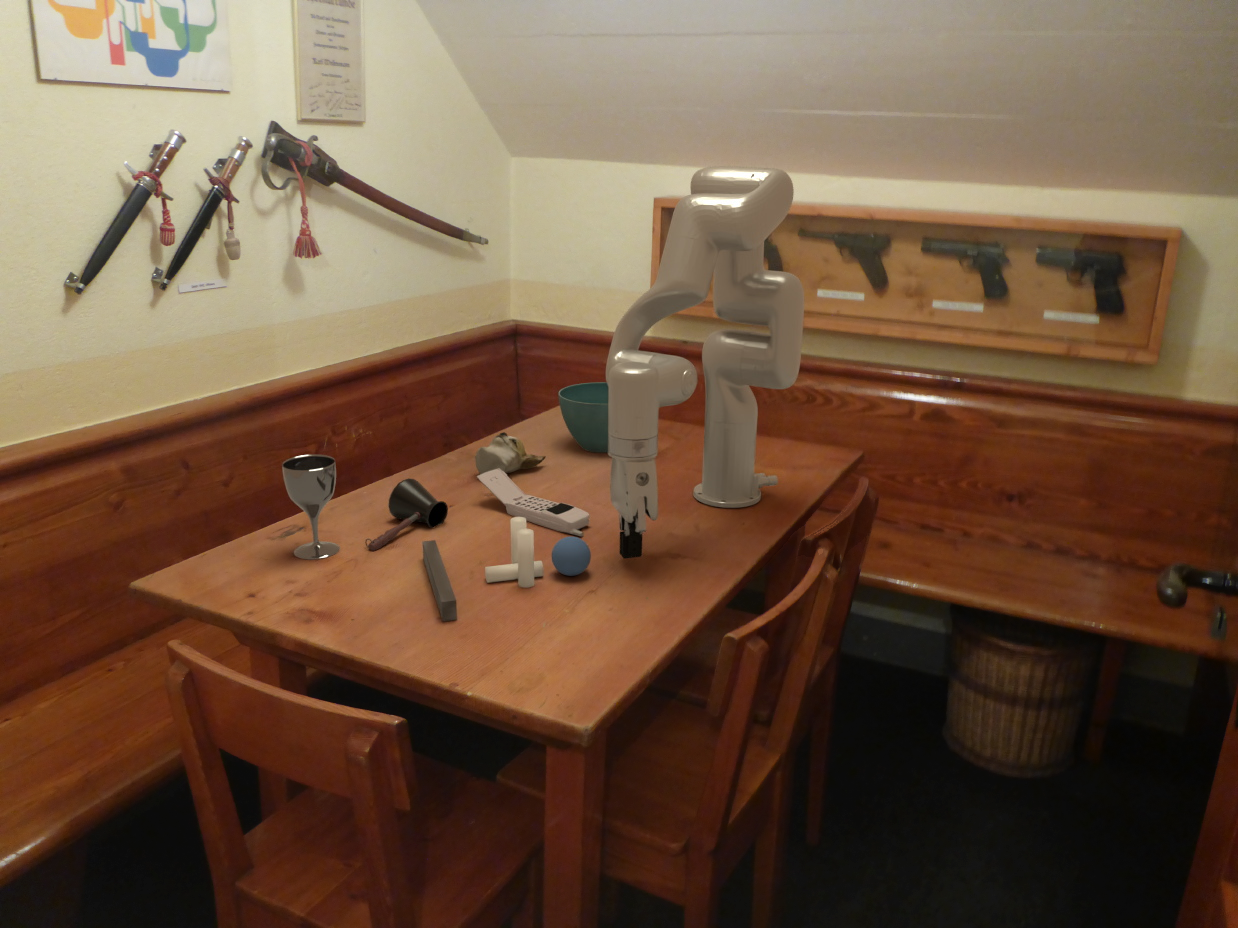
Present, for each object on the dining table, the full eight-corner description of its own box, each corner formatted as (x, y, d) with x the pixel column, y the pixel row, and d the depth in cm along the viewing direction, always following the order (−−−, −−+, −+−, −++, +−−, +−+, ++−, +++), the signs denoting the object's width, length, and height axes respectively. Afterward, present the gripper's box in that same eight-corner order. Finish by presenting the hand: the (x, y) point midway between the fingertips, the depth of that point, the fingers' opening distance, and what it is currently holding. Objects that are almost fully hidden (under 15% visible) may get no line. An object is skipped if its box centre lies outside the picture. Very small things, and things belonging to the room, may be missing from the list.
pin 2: (532, 579, 148) (531, 527, 146) (536, 586, 146) (535, 533, 143) (516, 581, 148) (515, 529, 145) (520, 588, 145) (519, 535, 143)
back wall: (436, 557, 156) (435, 540, 155) (457, 619, 136) (456, 600, 135) (423, 558, 155) (422, 541, 154) (442, 621, 135) (441, 602, 134)
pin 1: (525, 566, 153) (524, 516, 150) (528, 572, 151) (527, 521, 148) (510, 568, 152) (508, 517, 149) (513, 574, 150) (512, 523, 147)
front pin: (539, 558, 150) (484, 564, 148) (543, 563, 148) (487, 570, 146) (539, 572, 151) (485, 579, 149) (543, 578, 149) (488, 585, 146)
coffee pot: (419, 506, 176) (453, 523, 172) (341, 550, 163) (376, 569, 159) (417, 471, 172) (452, 487, 168) (337, 512, 159) (373, 531, 155)
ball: (538, 548, 150) (563, 569, 154) (550, 569, 145) (575, 590, 149) (567, 522, 150) (590, 543, 153) (579, 541, 145) (603, 563, 149)
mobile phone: (497, 467, 181) (600, 497, 166) (498, 496, 183) (601, 529, 168) (473, 475, 177) (577, 507, 162) (475, 506, 178) (577, 540, 164)
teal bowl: (612, 465, 200) (613, 408, 196) (541, 450, 209) (541, 394, 206) (658, 444, 215) (659, 390, 211) (590, 430, 224) (590, 378, 220)
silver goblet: (314, 564, 152) (306, 473, 148) (280, 553, 156) (271, 464, 152) (352, 547, 159) (346, 460, 154) (319, 537, 163) (311, 451, 158)
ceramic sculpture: (459, 434, 189) (507, 421, 202) (459, 477, 192) (506, 461, 204) (503, 444, 184) (549, 429, 197) (502, 487, 187) (547, 471, 199)
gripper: (673, 457, 142) (669, 572, 148) (640, 429, 156) (638, 535, 161) (624, 461, 140) (622, 578, 146) (595, 432, 153) (594, 540, 159)
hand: (630, 555), depth 154 cm, fingers closed
